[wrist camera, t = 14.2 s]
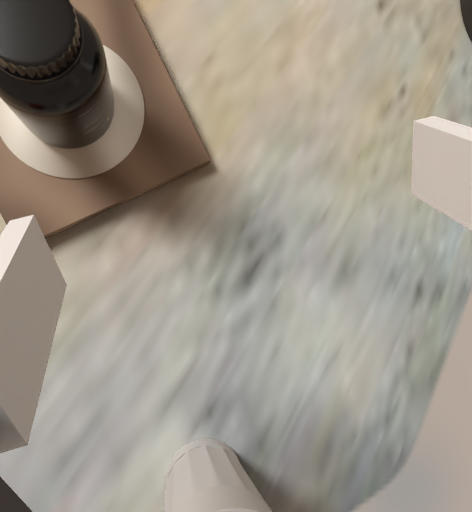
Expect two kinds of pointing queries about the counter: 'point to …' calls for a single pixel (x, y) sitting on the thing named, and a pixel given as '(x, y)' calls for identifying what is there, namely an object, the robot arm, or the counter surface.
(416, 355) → the counter surface
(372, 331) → the counter surface
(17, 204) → the walnut board
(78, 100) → the supplement bottle
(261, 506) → the cup
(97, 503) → the counter surface
